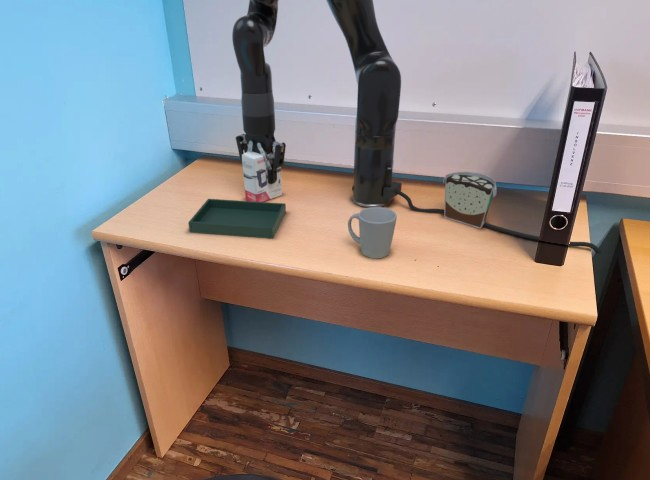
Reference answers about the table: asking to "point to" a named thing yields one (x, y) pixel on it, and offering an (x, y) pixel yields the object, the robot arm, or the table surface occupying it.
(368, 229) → the cup
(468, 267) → the table surface
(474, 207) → the food container
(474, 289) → the table surface
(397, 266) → the table surface
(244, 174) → the ink box
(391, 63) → the robot arm
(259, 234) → the desk tray
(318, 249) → the table surface
